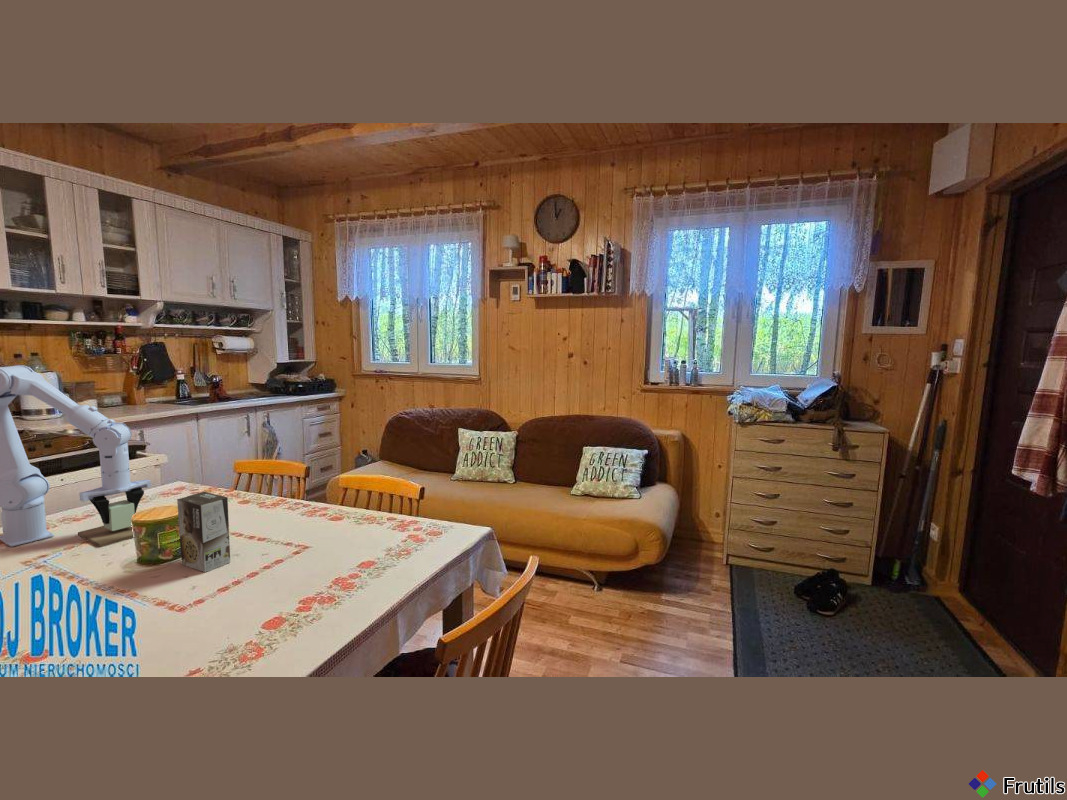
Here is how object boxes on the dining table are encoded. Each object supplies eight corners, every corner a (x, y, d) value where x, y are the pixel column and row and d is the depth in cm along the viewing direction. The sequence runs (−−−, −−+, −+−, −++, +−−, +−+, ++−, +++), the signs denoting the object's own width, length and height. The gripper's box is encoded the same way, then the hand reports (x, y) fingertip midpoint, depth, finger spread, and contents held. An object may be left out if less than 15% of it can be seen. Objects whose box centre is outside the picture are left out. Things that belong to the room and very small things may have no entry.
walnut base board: (78, 535, 126) (77, 532, 126) (137, 519, 137) (137, 517, 137) (100, 547, 120) (99, 544, 120) (160, 530, 131) (160, 527, 131)
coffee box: (232, 561, 115) (229, 497, 113) (204, 573, 109) (200, 505, 107) (208, 553, 119) (205, 490, 117) (179, 564, 113) (176, 498, 111)
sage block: (103, 526, 127) (102, 505, 127) (126, 520, 132) (125, 499, 131) (112, 531, 125) (110, 509, 124) (135, 525, 129) (134, 503, 128)
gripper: (86, 479, 118) (90, 532, 120) (155, 466, 131) (158, 514, 132) (74, 474, 121) (78, 525, 123) (142, 462, 134) (145, 509, 136)
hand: (119, 519), depth 128 cm, fingers closed on sage block, 5 cm apart
